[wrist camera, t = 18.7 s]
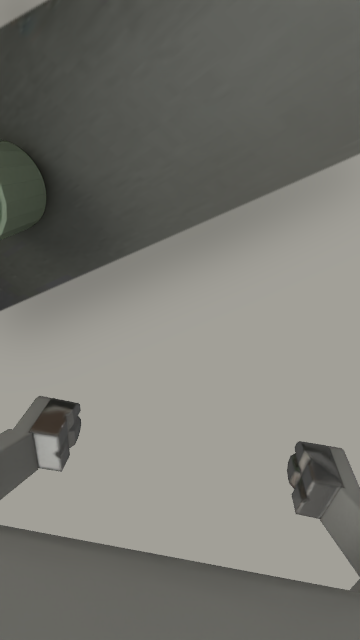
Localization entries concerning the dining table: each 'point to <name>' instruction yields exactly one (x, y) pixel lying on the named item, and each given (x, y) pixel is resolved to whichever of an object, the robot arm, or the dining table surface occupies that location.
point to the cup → (19, 191)
